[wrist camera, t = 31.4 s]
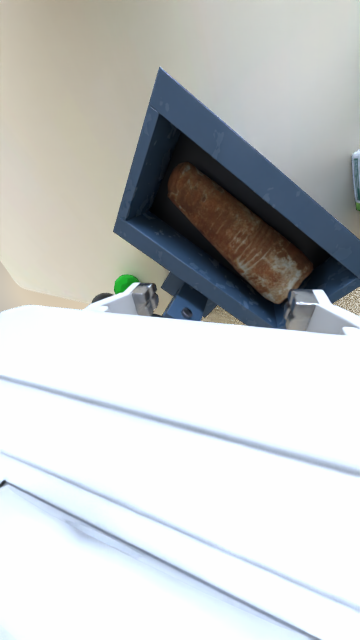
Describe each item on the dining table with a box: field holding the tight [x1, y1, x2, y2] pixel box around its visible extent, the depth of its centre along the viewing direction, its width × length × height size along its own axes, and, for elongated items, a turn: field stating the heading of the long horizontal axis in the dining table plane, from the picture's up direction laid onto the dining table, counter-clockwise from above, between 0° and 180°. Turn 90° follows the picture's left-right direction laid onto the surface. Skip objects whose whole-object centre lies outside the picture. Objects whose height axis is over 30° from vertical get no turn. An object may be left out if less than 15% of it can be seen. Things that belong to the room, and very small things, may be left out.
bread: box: [168, 162, 313, 304], centre depth 21 cm, size 6×19×6 cm, turn 54°
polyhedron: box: [114, 274, 140, 294], centre depth 35 cm, size 5×5×5 cm
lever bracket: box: [161, 272, 217, 321], centre depth 28 cm, size 10×7×13 cm
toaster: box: [113, 67, 360, 330], centre depth 22 cm, size 13×24×9 cm, turn 60°
